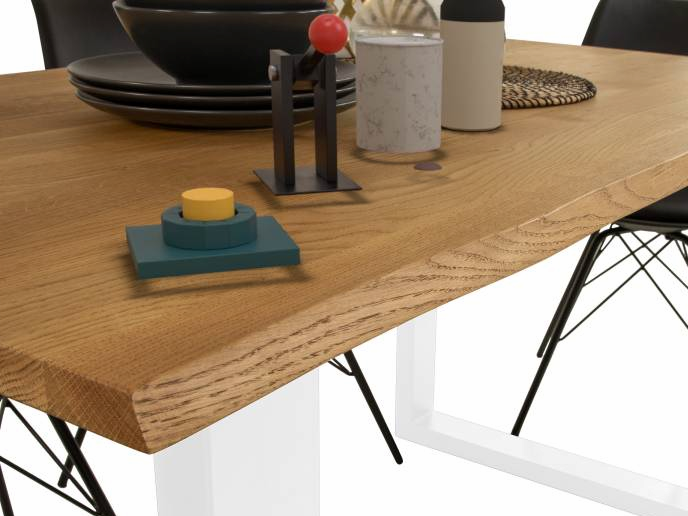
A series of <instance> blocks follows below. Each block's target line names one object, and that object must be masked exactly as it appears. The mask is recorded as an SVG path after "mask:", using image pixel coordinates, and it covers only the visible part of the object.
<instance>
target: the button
mask: <svg viewBox="0 0 688 516" xmlns="http://www.w3.org/2000/svg"><path fill="white" fill-rule="evenodd" d="M234 195H235V194H234V192H233V191H232V190H230V189H227V188H221V187H199V188H198V187H197V188H193V189H188V190H186V191H183V192H182V193H181V205H182V210H183V218H184V219H188V220H197V221H213V220H223V219H227V218H231V217H234V216H235V213H234V202H235V197H234Z"/></svg>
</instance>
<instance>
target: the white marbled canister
mask: <svg viewBox="0 0 688 516" xmlns="http://www.w3.org/2000/svg"><path fill="white" fill-rule="evenodd" d="M354 42H355V43H354V44H355V124H356V125H355V129H356V131H355V132H356V133H355V136H356V137H355V139H356V140H355V141H356V142H355V143H356V146H357V147H358V148H360V149H363V150H367V151H372V152H380V153H388V154H389V153H391V154H393V153H394V154H410V153H423V152H424V153H425V152H430V151H433V150H436V149H438V148H440V147H441V146H442V126H441V102H442V52H443V43H444V41H443V39H440V37H433V36H424V35H407V34H376V35H363V36H362V35H361V36H357V37H354Z"/></svg>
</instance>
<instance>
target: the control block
mask: <svg viewBox="0 0 688 516" xmlns="http://www.w3.org/2000/svg"><path fill="white" fill-rule="evenodd" d="M234 213H235V216H234V217H231V218H227V219H223V220H213V221H197V220H188V219H184V218H183V210H182V204H178V205H174V206H171V207H169V208H167V209H166V210H164V211H162V212H161V213H160V222H161V223H159V224H158V223H157V224H146V225H133V226H125V239H126V245H127V247H128V251H129V254H130V257H131V260H132V263H133V266H134V269H135V273H136V275H137V278H138V280H139V281H140V280H152V279H161V278H172V277H182V276H183V277H184V276H193V275H204V274H215V273H223V272H233V271H243V270H245V271H246V270H255V269H256V270H257V269H266V268H267V269H268V268H276V267H286V266H296V265H297V266H298V265H301V249H300V247H299V245H298V244H297V243H296V241H294V239H293V238H292V237H291V236H290V235H289V234H288V233H287V231H286V230H285V229H284V228H283V226H282V225H281V224H280V223H279V221H277V219H276V218H275V217H274V215H261V216H260V215H259V216H257V211H256V210H255V209H254V208H253V207H252V206H250V205H246V204H242V203H238V202H235V201H234Z"/></svg>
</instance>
